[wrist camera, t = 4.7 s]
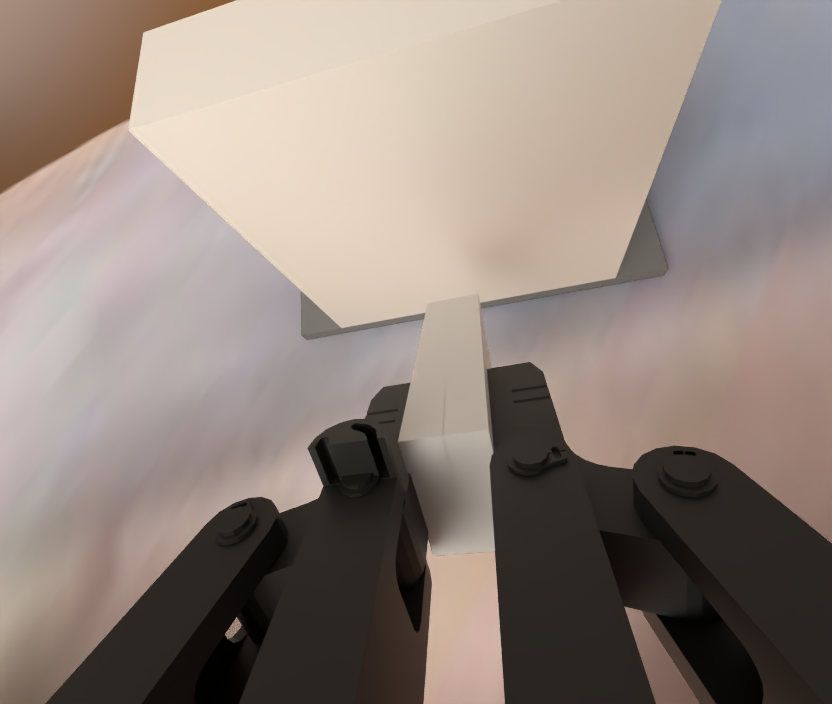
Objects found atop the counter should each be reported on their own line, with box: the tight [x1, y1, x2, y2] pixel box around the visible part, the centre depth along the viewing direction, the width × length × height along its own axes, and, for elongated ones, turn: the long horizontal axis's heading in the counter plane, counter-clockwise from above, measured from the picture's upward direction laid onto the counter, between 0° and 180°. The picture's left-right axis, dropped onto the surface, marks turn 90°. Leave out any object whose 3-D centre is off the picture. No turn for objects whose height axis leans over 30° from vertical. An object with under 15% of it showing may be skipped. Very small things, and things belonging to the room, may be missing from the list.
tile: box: [128, 0, 722, 328], centre depth 15 cm, size 12×3×12 cm, turn 96°
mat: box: [301, 200, 668, 340], centre depth 23 cm, size 16×15×1 cm
